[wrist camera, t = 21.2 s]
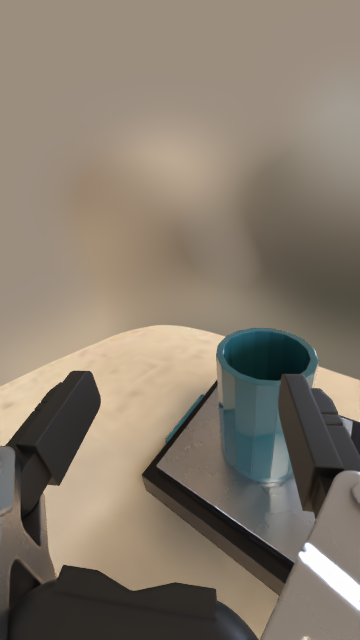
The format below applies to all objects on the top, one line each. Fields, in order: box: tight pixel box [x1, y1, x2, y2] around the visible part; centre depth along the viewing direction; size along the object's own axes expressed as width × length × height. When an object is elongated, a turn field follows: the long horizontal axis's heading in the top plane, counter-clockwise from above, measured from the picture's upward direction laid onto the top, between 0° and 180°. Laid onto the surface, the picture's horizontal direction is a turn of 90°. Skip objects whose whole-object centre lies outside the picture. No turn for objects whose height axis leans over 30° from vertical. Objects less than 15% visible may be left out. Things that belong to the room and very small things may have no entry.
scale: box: [142, 381, 360, 596], centre depth 23 cm, size 16×15×3 cm
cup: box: [216, 328, 319, 483], centre depth 20 cm, size 7×7×10 cm
